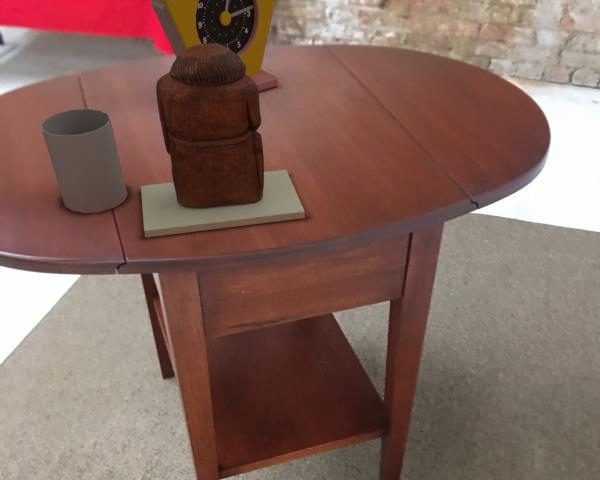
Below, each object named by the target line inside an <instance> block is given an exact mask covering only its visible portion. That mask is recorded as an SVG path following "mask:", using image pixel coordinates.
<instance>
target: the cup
mask: <svg viewBox="0 0 600 480" xmlns="http://www.w3.org/2000/svg"><path fill="white" fill-rule="evenodd" d="M40 128H41V132H42V135H43V139H44V142H45V145H46V147H47V152H48V154H49V158H50V161H51V164H52V168H53V171H54V175H55V178H56V181H57V184H58V187H59V188H58V189H59V191H60V194H61V197H62V201H63V205H64V207H65V208H67V209H69V210H70V211H72V212H76V213H81V214H93V213H101V212H106V211H108V210H112V209H114V208H116V207H118V206H119V205H121V204H122V203H124V202H125V200H126V198H127V197H128V191H127V186H126V182H125V178H124V173H123V169H122V164H121V160H120V155H119V150H118V145H117V142H116V137H115V133H114V129H113V125H112V120H111V117H110V115H109V113H108V112H105V111H102V110H100V109H92V108H78V109H75V108H74V109H69V110H65V111H61V112H57V113H55V114H53V115H51V116H47V117H46V118H45V119H44V120H43V121H42V122H41V123H40Z"/></svg>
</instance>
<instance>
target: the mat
mask: <svg viewBox="0 0 600 480" xmlns="http://www.w3.org/2000/svg"><path fill="white" fill-rule="evenodd" d="M140 194H141V208H142V222H143V223H142V224H143V233H144V238H155V237H164V236H171V235H179V234H187V233H195V232H202V231H203V232H205V231H210V230H219V229H228V228H236V227H237V228H238V227H243V226H251V225H261V224H268V223H276V222H284V221H293V220H301V219H305V217H306V213H305V212H306V211H305V208H304V207H303V205H302V202H301V200H300V198H299V195H298V193H297V191H296V189H295V186H294V184H293V182H292V180H291V177H290V176H289V173H288V171H287V169H278V170H272V171H264V189H263V197H262V199H261V200H259V201H258V202H254V203H242V204H229V205H219V206H212V207H200V208H198V207H188V206H184V205H181V204H179V203H178V201H177V197H176V191H175V187H174V183H173V181H172V182H171V181H170V182H164V183H163V182H162V183H155V184H147V185H146V184H145V185H140Z"/></svg>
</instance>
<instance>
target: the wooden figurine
mask: <svg viewBox="0 0 600 480" xmlns="http://www.w3.org/2000/svg"><path fill="white" fill-rule="evenodd" d="M245 72H246V66H245V64H244V63H243V61H242V60H241V58H240V57H239V56H238V55H237V54H236V53H234V52H233V51H232V50H230V49H229V48H226V47H224V46H222V45H219V44H214V43H204V44H198V45H195V46H192V47H189V48H187V49H186V50H184V51H183V52H182V53H181V54H180V55H179V56H178V57H177V58H175V60H174V61H173V63H172V65H171V66H170V69H169V71H168V72H167V73H165V74H164V75H162V76H160V77H159V78H158V79H157V81H156V85H155V93H156V103H157V110H158V115H159V121H160V126H161V131H162V136H163V141H164V146H165V150H166V152H167V154H168V155H169V156H170V162H171V177H172V182H173V183H174V187H175V191H176V197H177V201H178V203H179V204H181V205H184V206H188V207H198V208H200V207H212V206H219V205H229V204H242V203H254V202H258V201H259V200H261V199H262V197H263V189H264V172H265V159H264V145H263V139H262V134H261V133H260V132H258V131H257V130H259V128H260V127H261V125H262V121H263V119H262V116H261V107H260V93H259V91H258V86H257V85H256V83H255V82H254V80H253V79H252V78H251V77H249V76H248V75H246V74H245Z"/></svg>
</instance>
